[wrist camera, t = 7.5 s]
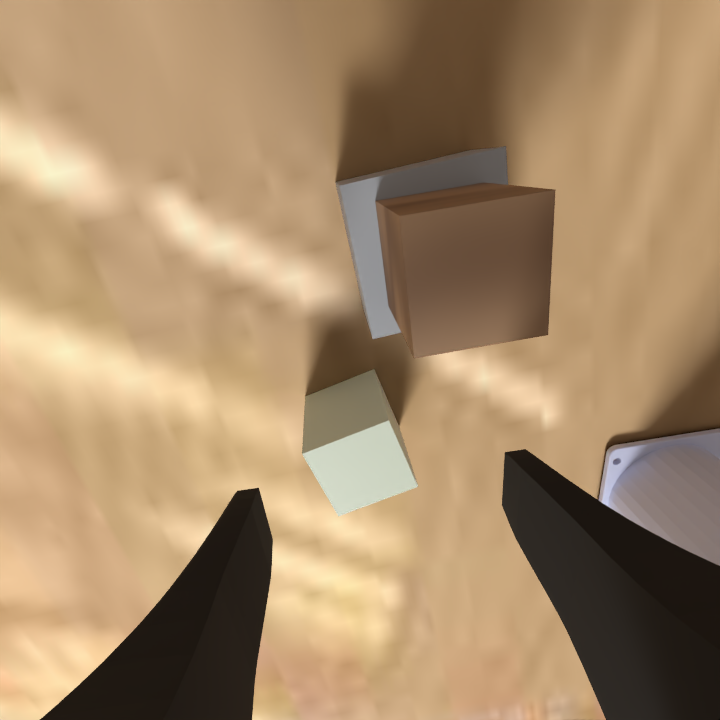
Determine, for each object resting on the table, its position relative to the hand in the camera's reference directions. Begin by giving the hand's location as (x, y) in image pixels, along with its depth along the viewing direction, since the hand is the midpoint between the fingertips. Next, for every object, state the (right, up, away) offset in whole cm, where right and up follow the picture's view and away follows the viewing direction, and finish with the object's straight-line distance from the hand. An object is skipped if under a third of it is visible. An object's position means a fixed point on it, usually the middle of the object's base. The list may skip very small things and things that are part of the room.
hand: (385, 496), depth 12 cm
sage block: (-1, +1, +11) cm, 11 cm away
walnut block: (+2, +8, +4) cm, 9 cm away
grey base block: (+2, +10, +7) cm, 12 cm away
